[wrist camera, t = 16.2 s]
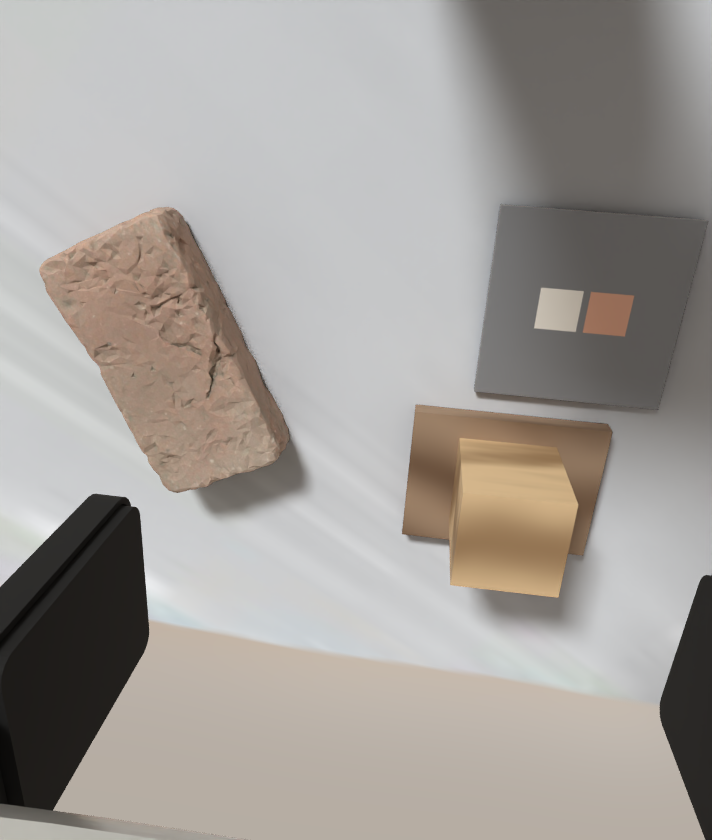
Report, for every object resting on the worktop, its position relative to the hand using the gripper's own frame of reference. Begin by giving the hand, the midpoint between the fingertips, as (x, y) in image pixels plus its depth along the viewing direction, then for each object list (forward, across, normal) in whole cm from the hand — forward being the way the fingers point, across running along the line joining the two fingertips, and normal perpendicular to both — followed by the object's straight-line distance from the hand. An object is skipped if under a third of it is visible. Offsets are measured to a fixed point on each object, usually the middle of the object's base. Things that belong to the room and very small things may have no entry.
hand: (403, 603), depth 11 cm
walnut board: (+30, -6, +13) cm, 34 cm away
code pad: (+30, -9, +2) cm, 32 cm away
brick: (+31, +15, +6) cm, 35 cm away
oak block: (+29, -6, +13) cm, 32 cm away
